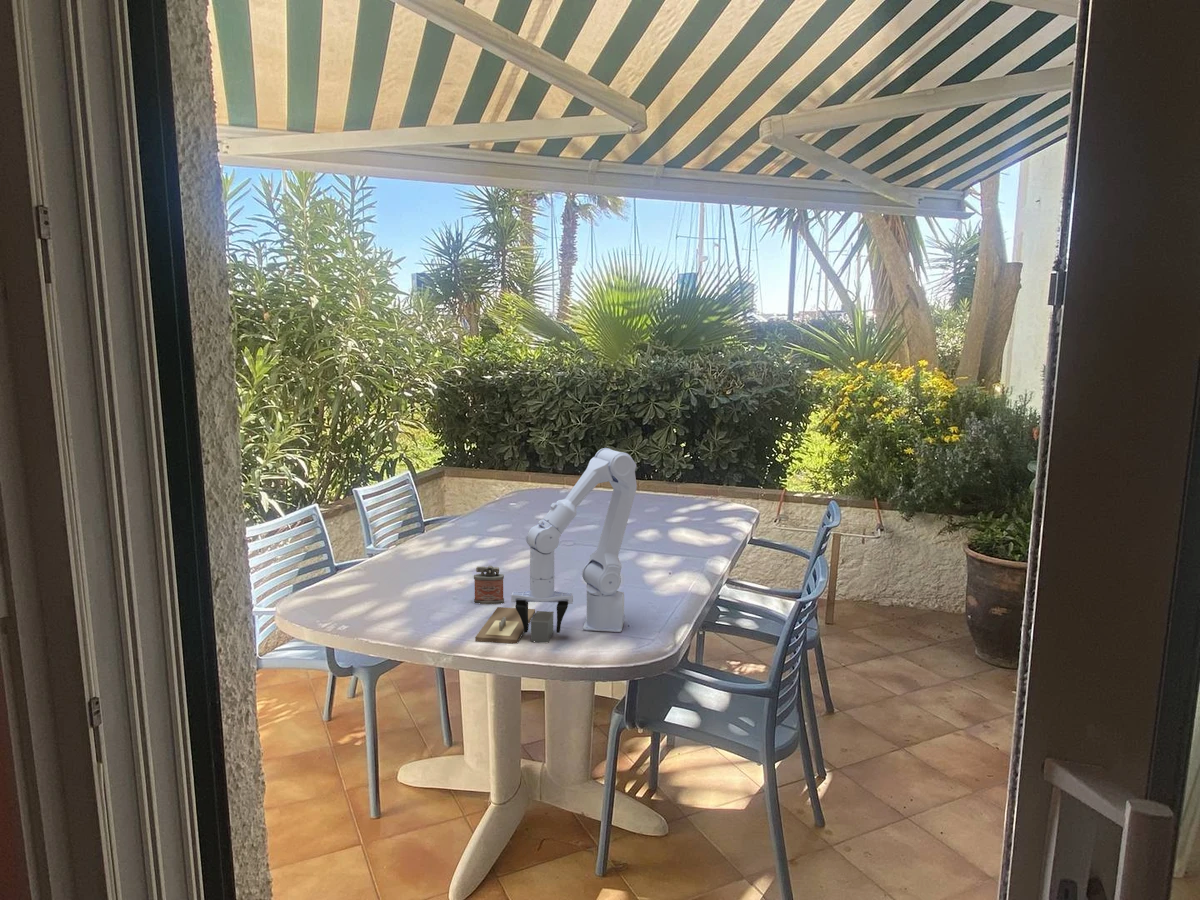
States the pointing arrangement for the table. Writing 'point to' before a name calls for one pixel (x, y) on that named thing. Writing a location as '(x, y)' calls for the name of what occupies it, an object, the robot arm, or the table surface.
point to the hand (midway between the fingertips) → (542, 631)
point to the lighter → (488, 586)
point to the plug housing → (542, 626)
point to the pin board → (503, 626)
